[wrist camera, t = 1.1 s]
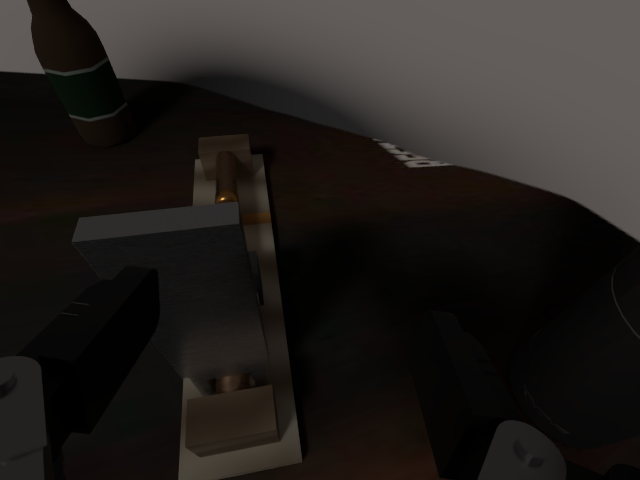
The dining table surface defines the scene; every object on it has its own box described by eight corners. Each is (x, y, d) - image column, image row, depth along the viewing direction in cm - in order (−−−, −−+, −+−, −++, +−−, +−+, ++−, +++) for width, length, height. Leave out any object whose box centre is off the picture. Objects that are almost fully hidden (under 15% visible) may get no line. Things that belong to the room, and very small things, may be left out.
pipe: (254, 426, 27) (250, 418, 25) (218, 433, 26) (211, 425, 24) (237, 156, 46) (234, 139, 44) (217, 158, 46) (212, 140, 44)
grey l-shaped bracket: (274, 386, 30) (239, 223, 14) (199, 399, 29) (71, 242, 13) (267, 320, 33) (234, 132, 18) (201, 330, 33) (103, 142, 17)
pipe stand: (302, 461, 28) (301, 450, 24) (181, 487, 27) (158, 479, 22) (263, 159, 50) (259, 126, 46) (197, 165, 49) (187, 131, 45)
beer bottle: (101, 156, 50) (-21, -68, 31) (72, 134, 53) (-56, -83, 34) (150, 132, 54) (67, -80, 35) (120, 112, 57) (29, -93, 38)
